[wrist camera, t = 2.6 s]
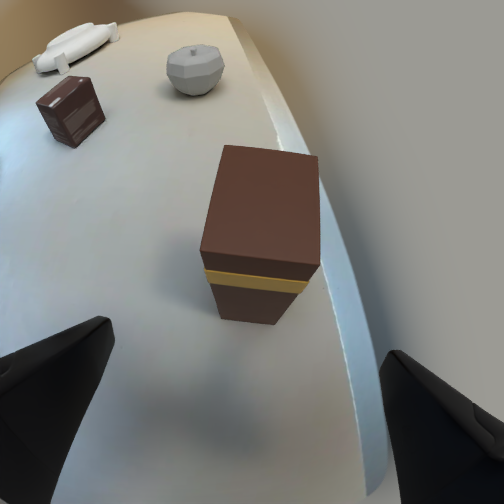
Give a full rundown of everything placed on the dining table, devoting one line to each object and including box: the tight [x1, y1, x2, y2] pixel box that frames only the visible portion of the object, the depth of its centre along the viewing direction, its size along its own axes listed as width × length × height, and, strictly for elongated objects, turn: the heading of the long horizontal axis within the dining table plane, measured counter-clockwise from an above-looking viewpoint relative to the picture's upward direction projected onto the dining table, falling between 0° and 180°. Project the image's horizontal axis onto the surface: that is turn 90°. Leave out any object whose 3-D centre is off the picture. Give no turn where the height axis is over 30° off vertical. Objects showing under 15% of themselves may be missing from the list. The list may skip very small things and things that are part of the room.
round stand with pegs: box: [32, 22, 119, 75], centre depth 39 cm, size 24×24×7 cm
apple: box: [167, 45, 225, 96], centre depth 29 cm, size 8×8×7 cm
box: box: [36, 76, 105, 148], centre depth 25 cm, size 6×6×7 cm
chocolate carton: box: [200, 145, 320, 325], centre depth 15 cm, size 5×4×12 cm
